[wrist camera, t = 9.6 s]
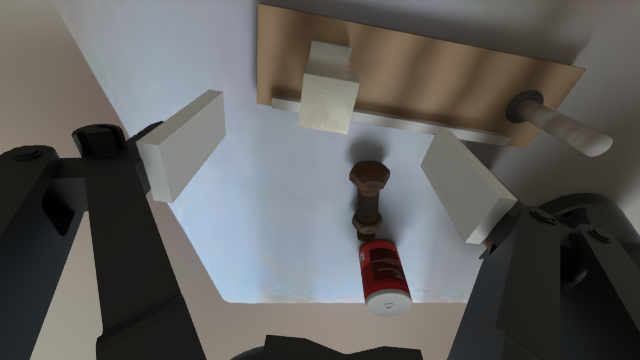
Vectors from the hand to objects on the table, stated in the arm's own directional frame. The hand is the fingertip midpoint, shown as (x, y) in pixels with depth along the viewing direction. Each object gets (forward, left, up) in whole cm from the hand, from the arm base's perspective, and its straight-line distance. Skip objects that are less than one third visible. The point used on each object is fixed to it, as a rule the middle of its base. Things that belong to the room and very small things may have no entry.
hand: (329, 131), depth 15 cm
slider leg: (0, 0, -15) cm, 15 cm away
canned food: (-16, +32, -18) cm, 40 cm away
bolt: (-10, +19, -18) cm, 28 cm away
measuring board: (-10, 0, -17) cm, 20 cm away
